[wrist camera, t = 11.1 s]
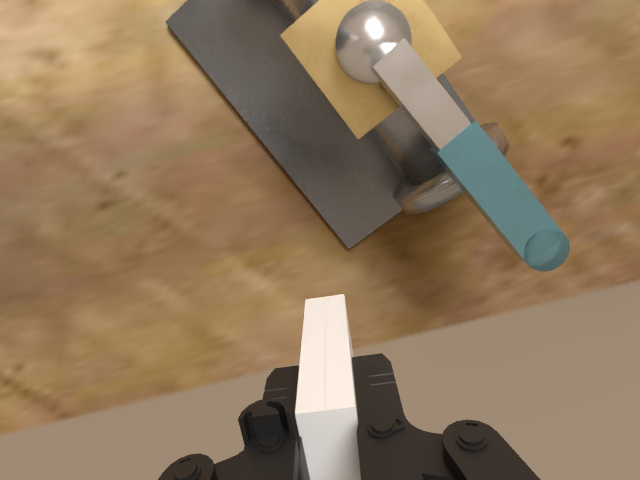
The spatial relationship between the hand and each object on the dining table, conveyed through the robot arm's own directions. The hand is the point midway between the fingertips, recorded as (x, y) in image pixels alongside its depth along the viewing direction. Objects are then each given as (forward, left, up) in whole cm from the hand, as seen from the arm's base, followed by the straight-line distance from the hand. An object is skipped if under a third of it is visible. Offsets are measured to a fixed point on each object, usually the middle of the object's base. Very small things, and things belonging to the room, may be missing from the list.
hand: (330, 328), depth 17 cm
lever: (0, +10, -14) cm, 17 cm away
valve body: (-8, +6, -23) cm, 25 cm away
